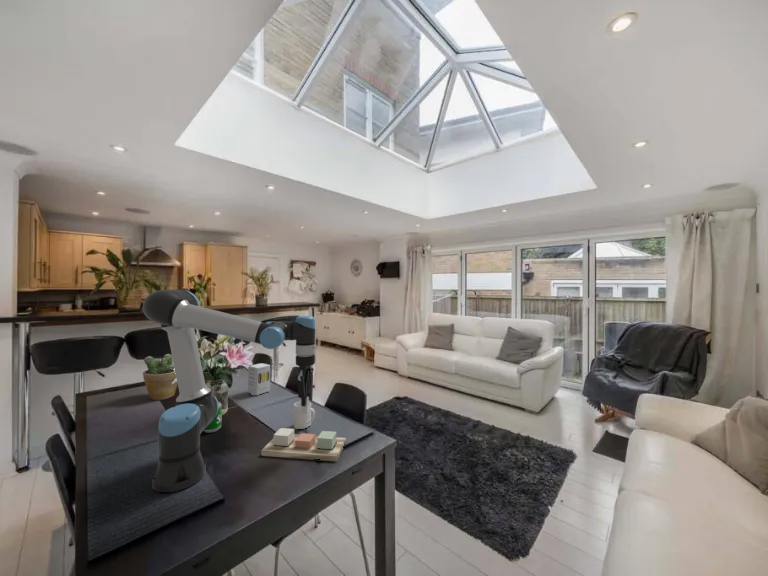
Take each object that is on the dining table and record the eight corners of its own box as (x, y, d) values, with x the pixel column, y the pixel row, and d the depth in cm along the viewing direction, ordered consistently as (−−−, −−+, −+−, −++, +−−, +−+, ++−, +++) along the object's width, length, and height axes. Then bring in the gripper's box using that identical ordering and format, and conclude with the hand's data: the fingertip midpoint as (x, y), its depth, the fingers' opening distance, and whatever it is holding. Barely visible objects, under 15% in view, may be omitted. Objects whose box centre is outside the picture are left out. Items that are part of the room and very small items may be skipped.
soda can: (213, 434, 136) (213, 407, 135) (198, 432, 137) (198, 405, 137) (225, 426, 143) (225, 401, 143) (211, 425, 144) (211, 399, 144)
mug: (290, 426, 143) (290, 404, 143) (303, 420, 150) (303, 399, 150) (307, 434, 136) (307, 410, 136) (320, 428, 143) (320, 405, 142)
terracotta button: (309, 451, 121) (309, 441, 121) (295, 450, 122) (295, 440, 122) (315, 443, 127) (315, 434, 127) (301, 442, 128) (301, 433, 128)
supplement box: (256, 396, 182) (256, 368, 181) (247, 393, 187) (247, 365, 186) (270, 392, 190) (270, 364, 189) (261, 389, 195) (261, 362, 195)
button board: (336, 461, 115) (336, 456, 115) (261, 455, 119) (261, 450, 119) (345, 442, 129) (345, 437, 129) (278, 437, 133) (278, 433, 133)
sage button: (332, 449, 120) (332, 439, 120) (317, 448, 121) (317, 438, 120) (336, 441, 126) (336, 431, 126) (322, 440, 126) (322, 430, 126)
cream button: (288, 446, 122) (288, 435, 122) (273, 444, 123) (273, 434, 123) (294, 438, 128) (294, 428, 128) (280, 437, 129) (280, 428, 129)
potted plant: (162, 390, 191) (162, 350, 191) (189, 392, 188) (189, 351, 188) (134, 401, 173) (134, 357, 173) (163, 403, 170) (163, 358, 170)
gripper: (308, 358, 117) (307, 420, 117) (319, 351, 130) (319, 407, 130) (289, 358, 118) (288, 419, 118) (302, 350, 131) (302, 406, 131)
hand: (304, 412), depth 124 cm, fingers closed
